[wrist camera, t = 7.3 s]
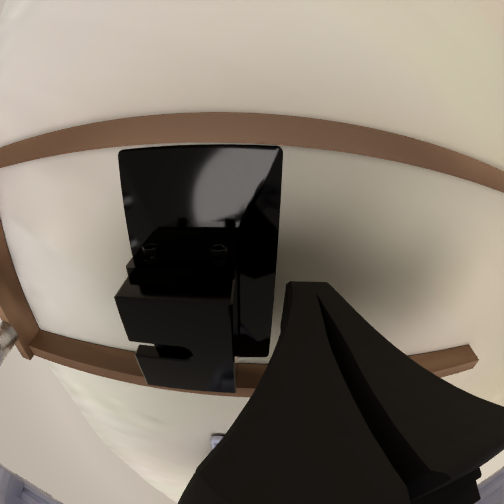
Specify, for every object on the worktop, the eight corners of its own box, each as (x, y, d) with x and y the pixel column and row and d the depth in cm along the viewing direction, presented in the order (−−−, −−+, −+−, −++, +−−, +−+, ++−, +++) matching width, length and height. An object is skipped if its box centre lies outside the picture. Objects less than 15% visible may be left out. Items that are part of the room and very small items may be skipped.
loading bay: (463, 353, 13) (493, 406, 9) (34, 335, 13) (-1, 389, 8) (531, 187, 8) (594, 224, 3) (-19, 156, 7) (-89, 188, 3)
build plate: (107, 114, 8) (19, 122, 4) (312, 104, 8) (365, 89, 4) (153, 361, 14) (131, 431, 9) (286, 367, 14) (294, 444, 9)
